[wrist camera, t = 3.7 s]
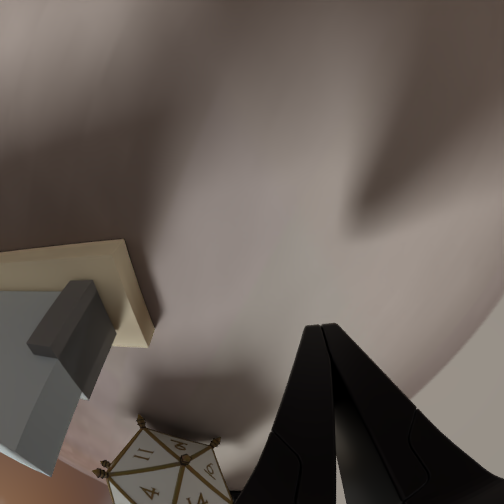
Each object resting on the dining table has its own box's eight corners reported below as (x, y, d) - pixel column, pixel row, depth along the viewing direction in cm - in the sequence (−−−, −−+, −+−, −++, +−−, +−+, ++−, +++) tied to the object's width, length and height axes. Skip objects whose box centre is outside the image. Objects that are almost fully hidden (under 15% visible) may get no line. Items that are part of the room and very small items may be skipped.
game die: (178, 374, 18) (184, 457, 9) (247, 453, 19) (293, 541, 9) (84, 430, 16) (43, 514, 7) (158, 500, 17) (162, 589, 7)
